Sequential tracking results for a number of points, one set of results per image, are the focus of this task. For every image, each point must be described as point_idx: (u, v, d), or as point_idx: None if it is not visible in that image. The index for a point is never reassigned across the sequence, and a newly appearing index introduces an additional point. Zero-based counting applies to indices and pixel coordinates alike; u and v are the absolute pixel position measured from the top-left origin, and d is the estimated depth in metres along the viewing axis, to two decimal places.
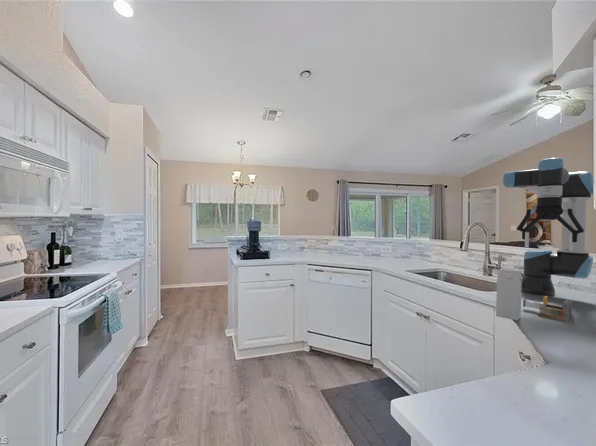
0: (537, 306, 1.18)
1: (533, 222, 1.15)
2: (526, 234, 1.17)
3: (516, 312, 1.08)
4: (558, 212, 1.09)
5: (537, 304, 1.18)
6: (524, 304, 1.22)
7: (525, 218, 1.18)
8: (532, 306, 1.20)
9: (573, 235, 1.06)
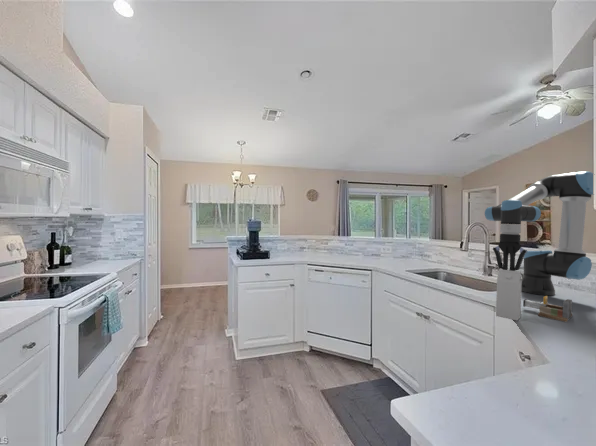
0: (537, 306, 1.18)
1: (505, 258, 1.27)
2: None
3: (516, 312, 1.08)
4: (516, 247, 1.24)
5: (537, 304, 1.18)
6: (524, 304, 1.22)
7: (497, 256, 1.30)
8: (532, 306, 1.20)
9: None
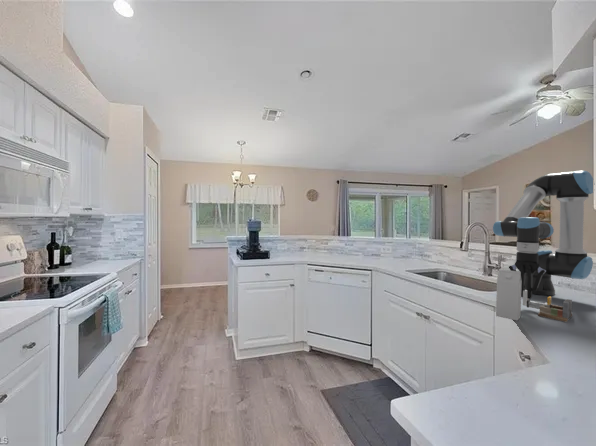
0: None
1: (522, 278, 1.22)
2: (524, 292, 1.22)
3: (516, 312, 1.08)
4: (533, 267, 1.19)
5: (541, 305, 1.17)
6: (528, 305, 1.21)
7: None
8: (536, 307, 1.19)
9: (528, 292, 1.21)
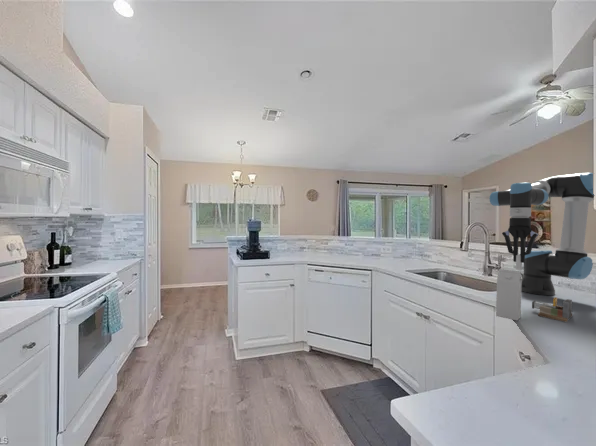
0: None
1: (515, 243, 1.25)
2: (517, 257, 1.24)
3: (516, 312, 1.08)
4: (526, 231, 1.21)
5: (546, 306, 1.16)
6: (533, 306, 1.19)
7: (507, 240, 1.27)
8: None
9: (521, 256, 1.23)
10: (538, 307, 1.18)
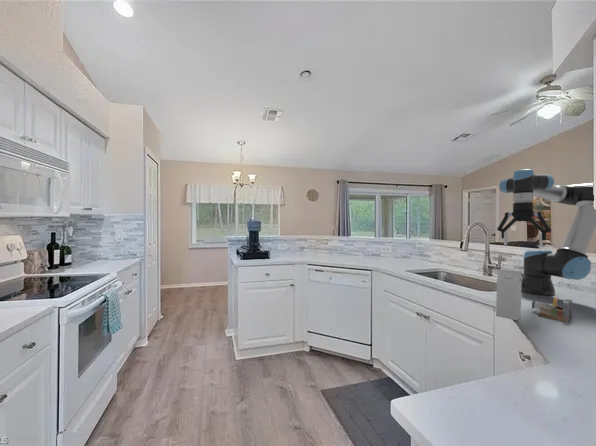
0: None
1: (510, 223, 1.36)
2: (505, 234, 1.38)
3: (516, 312, 1.08)
4: (530, 215, 1.30)
5: (546, 306, 1.16)
6: (533, 306, 1.19)
7: (503, 220, 1.38)
8: None
9: (542, 234, 1.27)
10: (538, 307, 1.18)
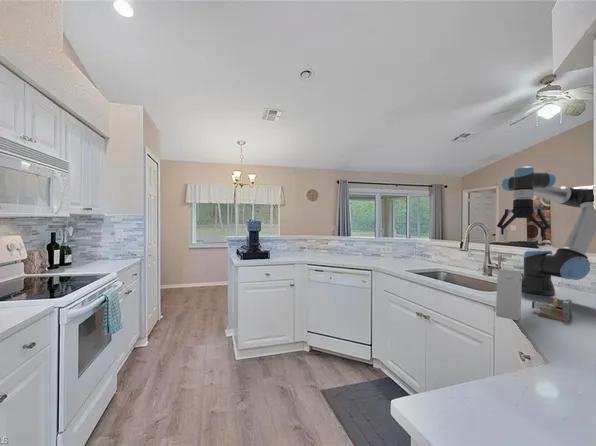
0: None
1: (510, 220, 1.37)
2: (504, 230, 1.39)
3: (516, 312, 1.08)
4: (529, 211, 1.31)
5: (546, 306, 1.16)
6: (533, 306, 1.19)
7: (503, 217, 1.40)
8: None
9: (541, 231, 1.28)
10: (538, 307, 1.18)
